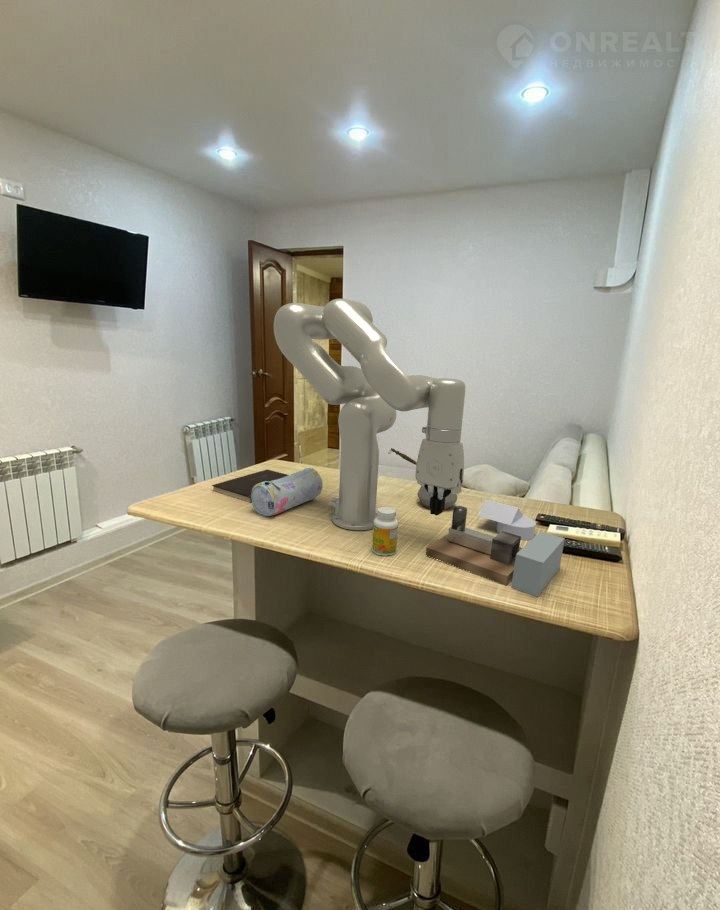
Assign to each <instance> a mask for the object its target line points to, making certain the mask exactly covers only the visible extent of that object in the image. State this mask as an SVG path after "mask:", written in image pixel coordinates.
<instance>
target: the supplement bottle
mask: <svg viewBox="0 0 720 910" xmlns="http://www.w3.org/2000/svg"><path fill="white" fill-rule="evenodd" d="M376 513H377V516H378V517H376V518H375V519H374V524H373V529H372V539H371V541H372V542H371V543H372V544H371V550H372V552H373V553H374V554H375V555H378V556H381V555H382V557H389V556H388V555H390V556H392V555H395V554H396V552H397V546H398V545H397V543H398V532H399V531H398V529H399V521H398V520H397V518H396V516H397V509H395V508H394V507H390V506H381V507H378V509H377V510H376Z"/></svg>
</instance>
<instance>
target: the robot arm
mask: <svg viewBox="0 0 720 910" xmlns="http://www.w3.org/2000/svg"><path fill="white" fill-rule="evenodd" d="M273 334H274V339H275V342H276V344H277V346H278V348H279V350H280V351H281V353H282V355H283V356H284V357H285V358H286V359H287V361H288V362H289V363H290V364H292V366H293V367H294V368H295V369H296V370H297V371H298V372H299V373H300V375H301V376H302V377H303V378H304V379H305V381H306V382H307V383H308V384H309V385H310V386H311V388H312V389H313V390H314V391H315V393H316V394H318V396H319V397H320V398H321V399H322V401H324V402H325V403H326V404H327V405H330V406H331V405H333V406H335V405H337V406H339V405H343V406H342V407H341V408H340V411H339V414H338V420H337V421H338V430H339V438H340V461H339V462H340V463H339V465H340V467H339V488H338V489H339V490H338V497H336V496H334V497H332V498H331V500H330V501H329V502H328V506H329V507H331V508H334V509H335V510H334V512H333V513H332V515H331V520H332V523H333V525H335V526H337V527H339V528H341V529H345V530H351V531H367V530H373V524H374V519H375V518H376V517H378V516H377V510H376V508H377V494H378V479H379V463H380V462H379V461H380V449H379V442H378V439H377V438H378V437H377V434H380V433H383V432H386V431H388V430H389V429H391V428H392V426H394V424H395V423H396V419H397V411H399V412H408V411H413V410H420V409H423V408H425V409H426V408H427V410H428V411H427V421H426V422H427V425H426V426H423V427H422V428H421V433H422V434H423V433H424V434H425V438H422V440H421V443H420V447H419V450H418V455H417V458H416V459H417V461H416V462H417V465H416V467H415V475H414V476H415V480H416V481H417V484H418V485H419V486H420V487H421V486H423V487H425V489H426V490H427V492H428V495H429V497H430V508H429V509H430V511H429V513H430V515H434V516H439V515H441V514H442V513H443V512H444V510H445V509H444V507H445V497H447V496H448V495H450V494H457V495H459V494H461V493H462V491H463V490H462V484H463V483H464V477H465V476H464V474H465V455H464V454H465V453H464V445H463V442H461V439H462V427H463V416H464V409H465V407H464V406H465V396H466V384H465V382H464V381H463V380H461V379H456V378H436V377H431V376H428V375H422V374H416V375H414V374H413V375H407V374H406V373H405V372H403V371H402V370H401V369H400V368H399V366H397V364H395V362H394V361H393V360H392V359H391V358H390V356H389V354H388V353H387V349H386V347H387V344H388V338H387V337H386V335H385V334H384V333H383V332H382V331H381V330H380V329H378V327H377V326H376V325H374V322H373V314H372V311H371V310H370V308H368V307H367V306H366V304H364V303H362V302H360V301H355V300H351V299H347V298H335V299H334V298H333V299H332V300H331V301H328V303H326V305H324V306H321V305H320V306H319V305H314V304H309V303H302V302H289V303H286V304H284V305H282V306H281V307H280V308H278V310H277V311H276V314H275V316H274V320H273ZM314 340H321V341H322V340H337V341H338V342H339V343H340V344H341V346H342V347H344V348H345V350H347V351H348V353H349V354H350V355H351V356H352V357H353V358H354V359H355V360H356V361H357V362H358V363H359V365H360V368H359V367H357V366H353V365H350V366H349V365H341V364H339V363H338V362H337V361H335V359H334V358H332V357H331V355H330V354H329V353H328V352H327V351H326V349H324V348H323V347H322V346H321V345H319V344H318V343H316V342H315V341H314ZM438 487H439V488H438Z"/></svg>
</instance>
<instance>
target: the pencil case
mask: <svg viewBox="0 0 720 910" xmlns="http://www.w3.org/2000/svg"><path fill="white" fill-rule="evenodd" d="M287 475H288V476H286V477H283V478H280V479H276V480H273V481H264V482H261V483H258V484H256V485H255V486H254V487H253V488H252V493H251V498H252V503H251V504H252V507H253V509H254V510H255V512H256V513H257V514H259V515H261V516H263V517H271V516H276V515H279V514H281V513H283V512H285V511H287V510H290V509H292V508H294V507H297V506H299V505H301V504H304V503H307V502H309V501H312V500H313V499H314V498H315V499H316V497H318V496H319V495H320V494H321V492H322V490H323V479H322V477H321V475H320V473H319V471H317V470H316V469H314V468H312V467H306V468H304V469H303V470H299V471H296V472H294V473H291V474H287Z"/></svg>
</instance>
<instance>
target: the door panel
mask: <svg viewBox="0 0 720 910" xmlns="http://www.w3.org/2000/svg"><path fill="white" fill-rule="evenodd" d="M521 541H522V540H521V536H518V535H514V534H511V533H507V532H504V531H502V532H501V533H498V534H496V536H495V537H494V538H493V539H492V547H491V554H487V553H484V552H481V551H478V550H475V549H472V548H469V547H466V546H463V545H460V544H457V543H454V542H451V541H448V533H447V534H445V535H444V536H441V537H440V538H439V539H437V540H436V541H434V542H433V543H431V544H430V545H428V546H427V547H426V549H425V556H426V555H427V556H426V557H428V556H430V557H433V558H435V559H434V560H436V559H438V560H441V561H443V562H442V563H444V562H445V563H444V564H447V563H448V564H447V565H449V564H451V565H450V566H452V565H454V566H453V567H455V566H456V567H455V568H457V567H459V568H458V569H460V568H461V569H460V570H463V569H464V570H463V571H466V570H467V571H466V572H468V571H470V572H469V573H471V572H472V574H474V573H475V574H474V575H476V574H478V575H477V576H479V575H480V577H482V576H483V578H485V579H487V578H489V579H488V580H490V579H491V580H490V581H493V580H494V581H493V582H495V581H496V582H495V583H498V584H501V585H503V586H507V585H508V584H510V582H512V579H513V572H514V565H515V558H516V554H517V553H518V552H519V551H520V550H521V549H522V548H523V547H520V546H521ZM430 557H429V558H430ZM433 558H432V559H433ZM438 560H437V561H438ZM441 561H440V562H441Z"/></svg>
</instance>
